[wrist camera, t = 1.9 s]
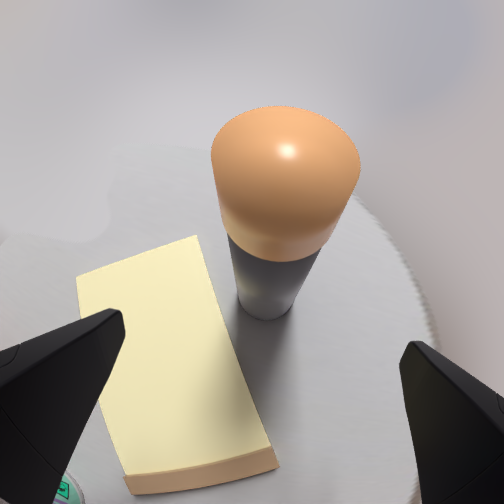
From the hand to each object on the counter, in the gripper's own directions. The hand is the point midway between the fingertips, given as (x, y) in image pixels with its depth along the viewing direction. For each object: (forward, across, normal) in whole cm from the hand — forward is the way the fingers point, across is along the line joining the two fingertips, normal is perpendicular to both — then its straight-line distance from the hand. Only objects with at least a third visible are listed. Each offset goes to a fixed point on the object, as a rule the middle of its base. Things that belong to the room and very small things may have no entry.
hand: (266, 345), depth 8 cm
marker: (+12, 0, +5) cm, 12 cm away
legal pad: (+7, +7, +9) cm, 13 cm away
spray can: (-3, +15, +20) cm, 25 cm away
